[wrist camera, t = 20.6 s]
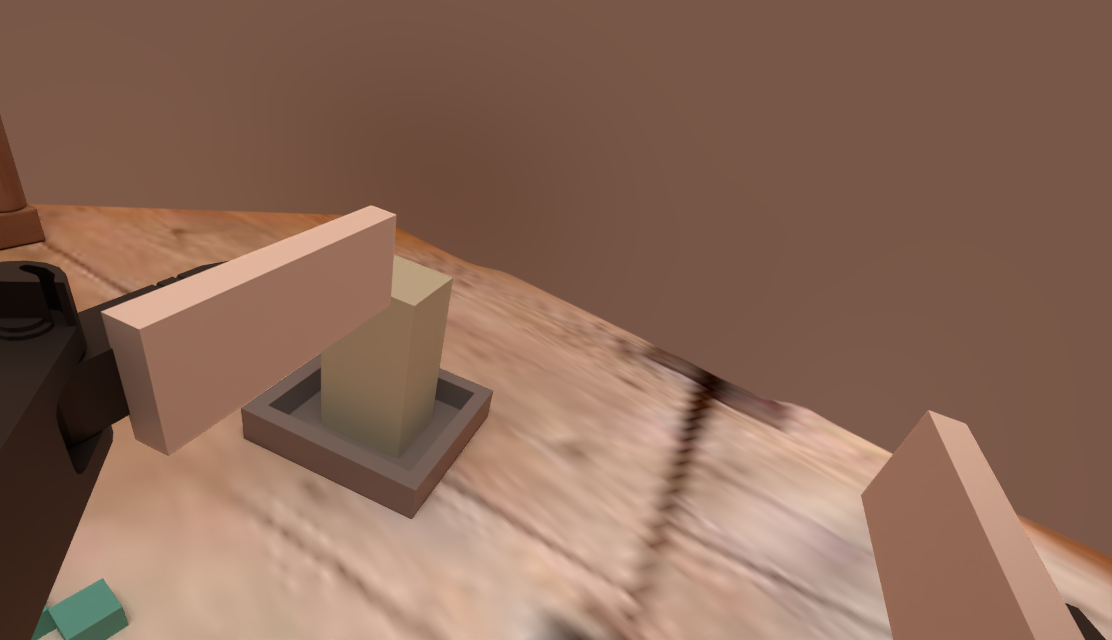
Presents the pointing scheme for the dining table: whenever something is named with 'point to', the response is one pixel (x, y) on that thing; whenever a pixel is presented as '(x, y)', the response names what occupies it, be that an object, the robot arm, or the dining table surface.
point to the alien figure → (84, 615)
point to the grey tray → (400, 484)
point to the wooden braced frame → (14, 203)
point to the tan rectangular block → (389, 364)
